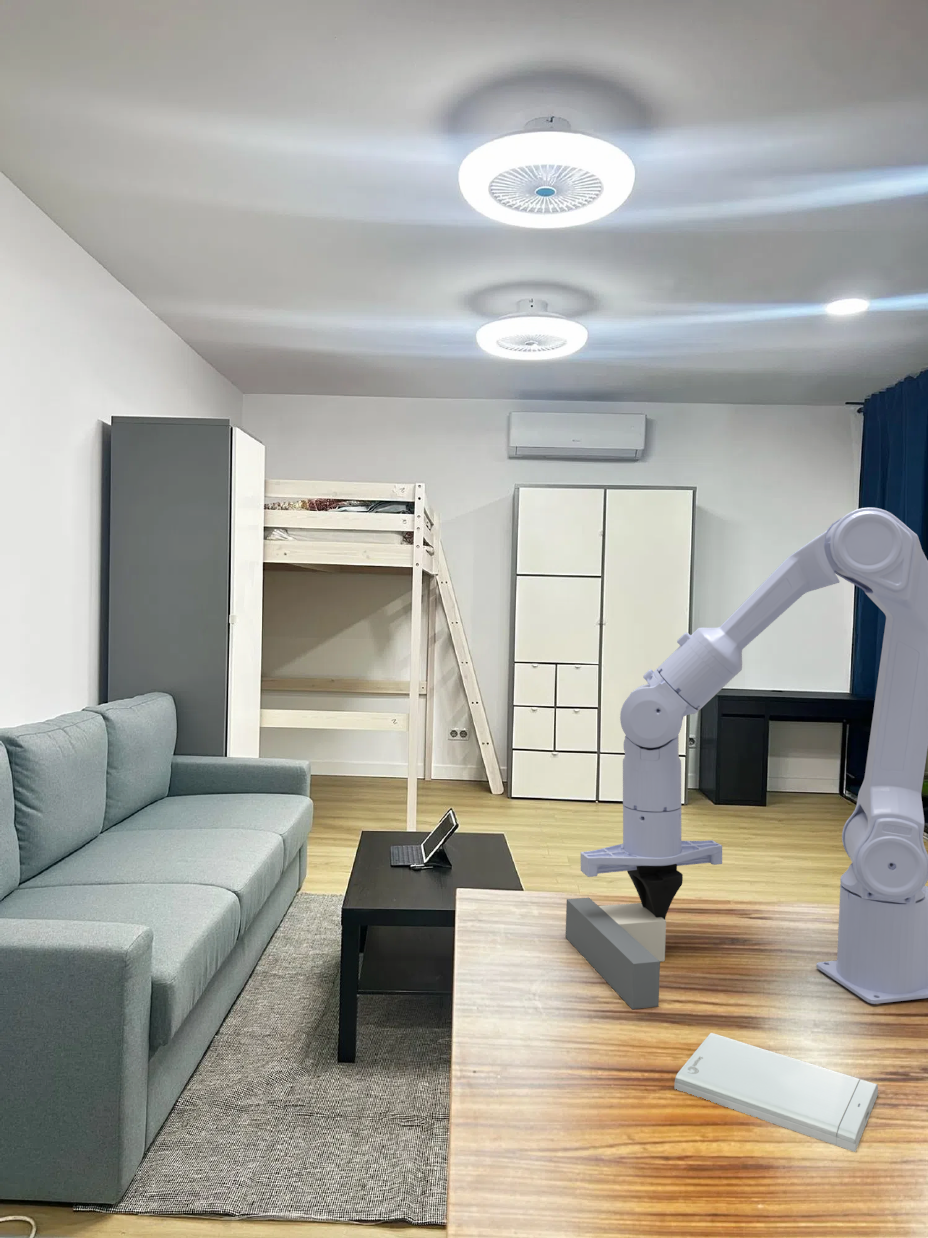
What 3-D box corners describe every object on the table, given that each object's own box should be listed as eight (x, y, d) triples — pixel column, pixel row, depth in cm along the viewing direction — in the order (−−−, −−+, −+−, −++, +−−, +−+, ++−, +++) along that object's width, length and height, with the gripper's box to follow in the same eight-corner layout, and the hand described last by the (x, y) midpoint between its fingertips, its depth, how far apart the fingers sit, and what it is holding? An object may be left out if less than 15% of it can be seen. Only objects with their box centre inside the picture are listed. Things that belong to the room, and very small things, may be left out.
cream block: (642, 941, 93) (643, 902, 93) (664, 961, 89) (666, 921, 88) (597, 944, 92) (598, 905, 92) (617, 965, 87) (618, 924, 87)
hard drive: (674, 1075, 66) (855, 1135, 59) (711, 1030, 73) (878, 1079, 66) (673, 1097, 66) (855, 1160, 59) (711, 1050, 73) (877, 1102, 66)
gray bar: (588, 935, 95) (589, 897, 94) (658, 1006, 79) (660, 961, 79) (565, 937, 94) (566, 899, 94) (632, 1009, 78) (633, 964, 78)
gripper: (698, 791, 96) (698, 917, 96) (569, 800, 92) (570, 931, 93) (733, 807, 89) (733, 943, 90) (595, 818, 86) (596, 959, 86)
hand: (652, 939), depth 91 cm, fingers closed, pressing on cream block
